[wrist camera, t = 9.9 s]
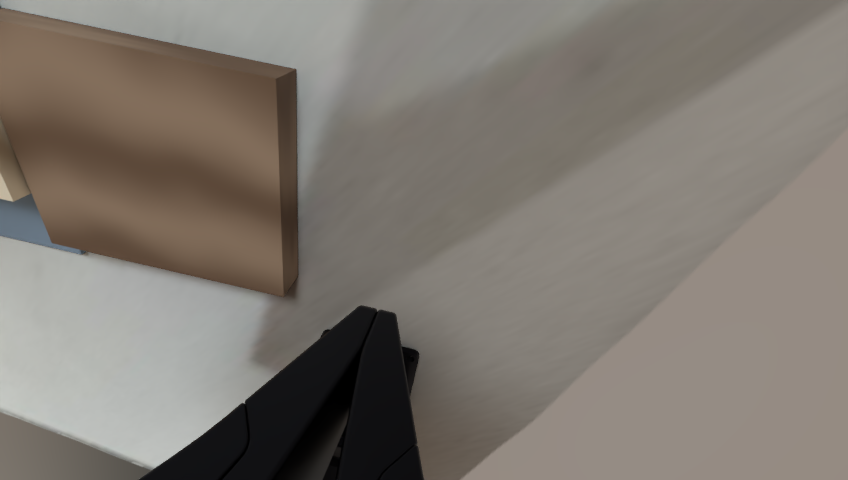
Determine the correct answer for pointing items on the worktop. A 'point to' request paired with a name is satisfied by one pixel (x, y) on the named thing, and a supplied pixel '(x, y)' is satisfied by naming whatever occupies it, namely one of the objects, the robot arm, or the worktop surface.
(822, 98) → the worktop surface
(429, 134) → the worktop surface
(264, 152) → the walnut board
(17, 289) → the worktop surface
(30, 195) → the rubber mat
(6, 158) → the beech tile
